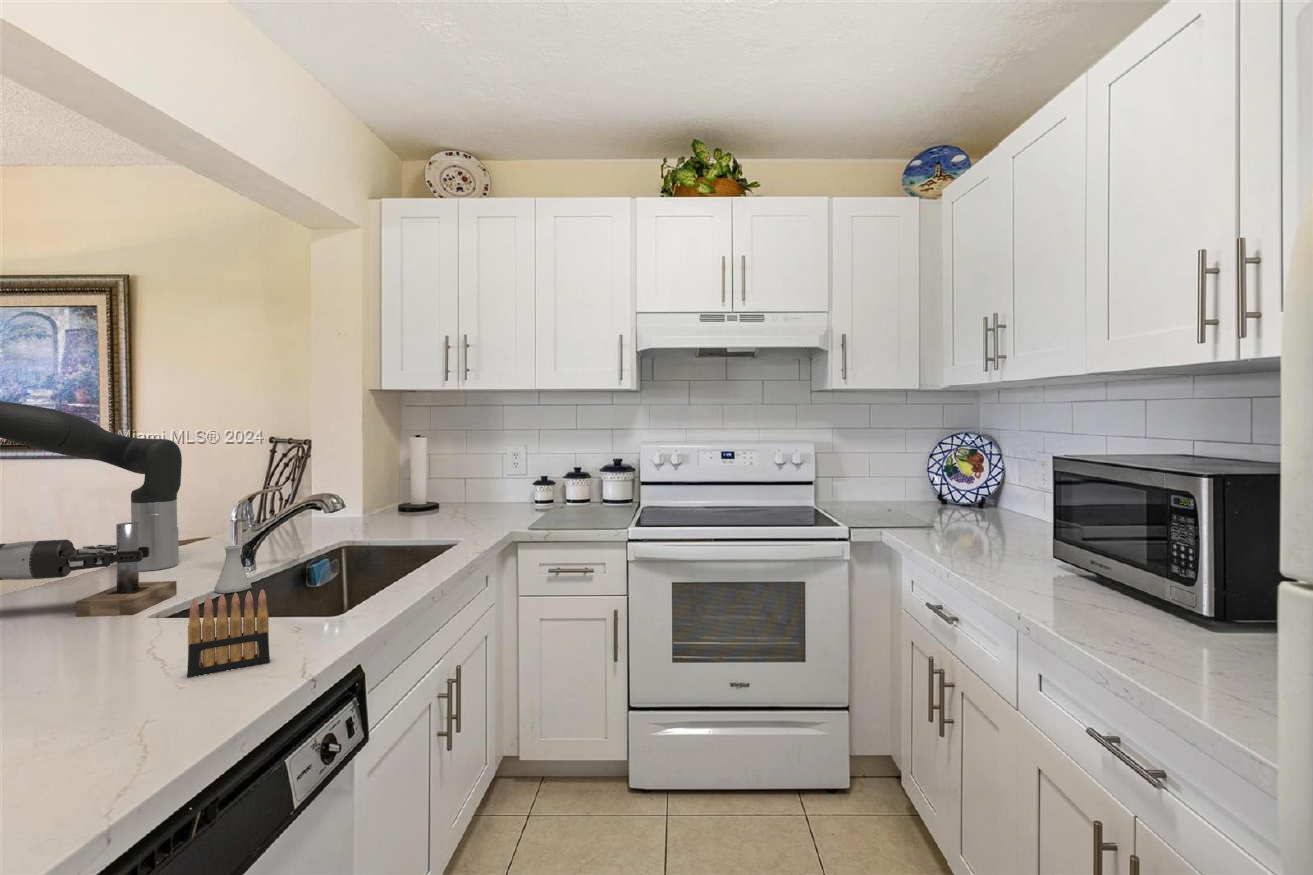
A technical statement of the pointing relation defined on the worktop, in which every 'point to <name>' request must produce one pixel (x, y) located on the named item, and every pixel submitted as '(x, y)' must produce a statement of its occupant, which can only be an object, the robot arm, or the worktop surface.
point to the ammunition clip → (227, 636)
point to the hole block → (126, 599)
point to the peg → (130, 570)
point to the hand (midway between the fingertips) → (144, 553)
